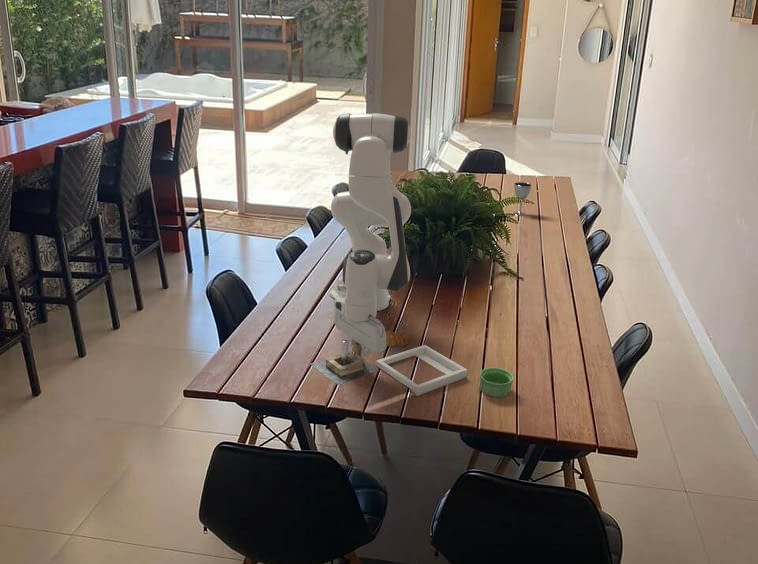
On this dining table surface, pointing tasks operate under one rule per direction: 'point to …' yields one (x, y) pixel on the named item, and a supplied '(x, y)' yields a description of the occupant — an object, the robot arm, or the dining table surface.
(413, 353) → the tray
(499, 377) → the ramekin
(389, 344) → the pastry
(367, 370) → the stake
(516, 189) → the wine glass
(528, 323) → the dining table surface
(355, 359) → the ring
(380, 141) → the robot arm
